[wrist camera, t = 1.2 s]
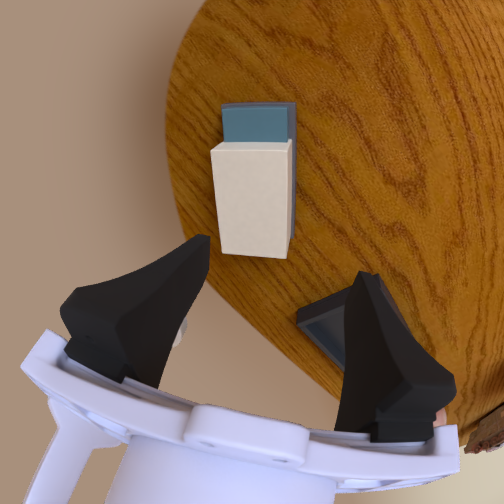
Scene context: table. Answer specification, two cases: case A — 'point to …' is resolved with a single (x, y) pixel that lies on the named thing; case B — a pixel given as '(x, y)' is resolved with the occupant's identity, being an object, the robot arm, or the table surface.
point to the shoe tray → (334, 322)
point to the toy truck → (256, 178)
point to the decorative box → (488, 433)
